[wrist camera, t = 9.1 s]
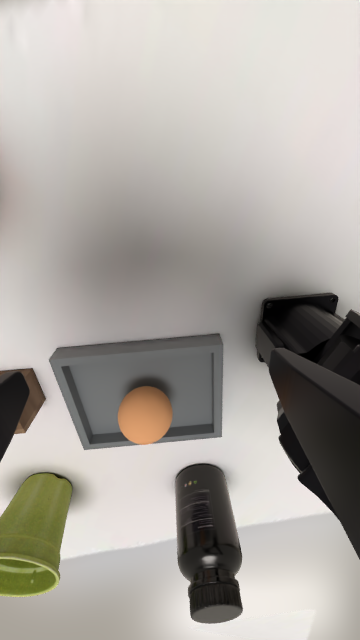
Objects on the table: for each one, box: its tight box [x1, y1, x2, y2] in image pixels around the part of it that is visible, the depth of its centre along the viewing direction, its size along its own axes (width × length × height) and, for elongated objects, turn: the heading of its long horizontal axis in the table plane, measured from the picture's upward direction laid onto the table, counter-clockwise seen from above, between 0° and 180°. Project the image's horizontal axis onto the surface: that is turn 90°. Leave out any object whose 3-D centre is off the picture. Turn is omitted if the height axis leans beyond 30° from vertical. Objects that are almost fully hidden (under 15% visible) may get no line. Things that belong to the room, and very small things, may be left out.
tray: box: [49, 334, 223, 450], centre depth 24 cm, size 15×12×2 cm
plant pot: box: [0, 473, 72, 597], centre depth 27 cm, size 9×9×9 cm
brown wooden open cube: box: [0, 368, 46, 434], centre depth 22 cm, size 4×4×4 cm
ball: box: [118, 386, 173, 445], centre depth 22 cm, size 5×5×5 cm
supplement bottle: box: [175, 464, 243, 624], centre depth 27 cm, size 7×7×12 cm
